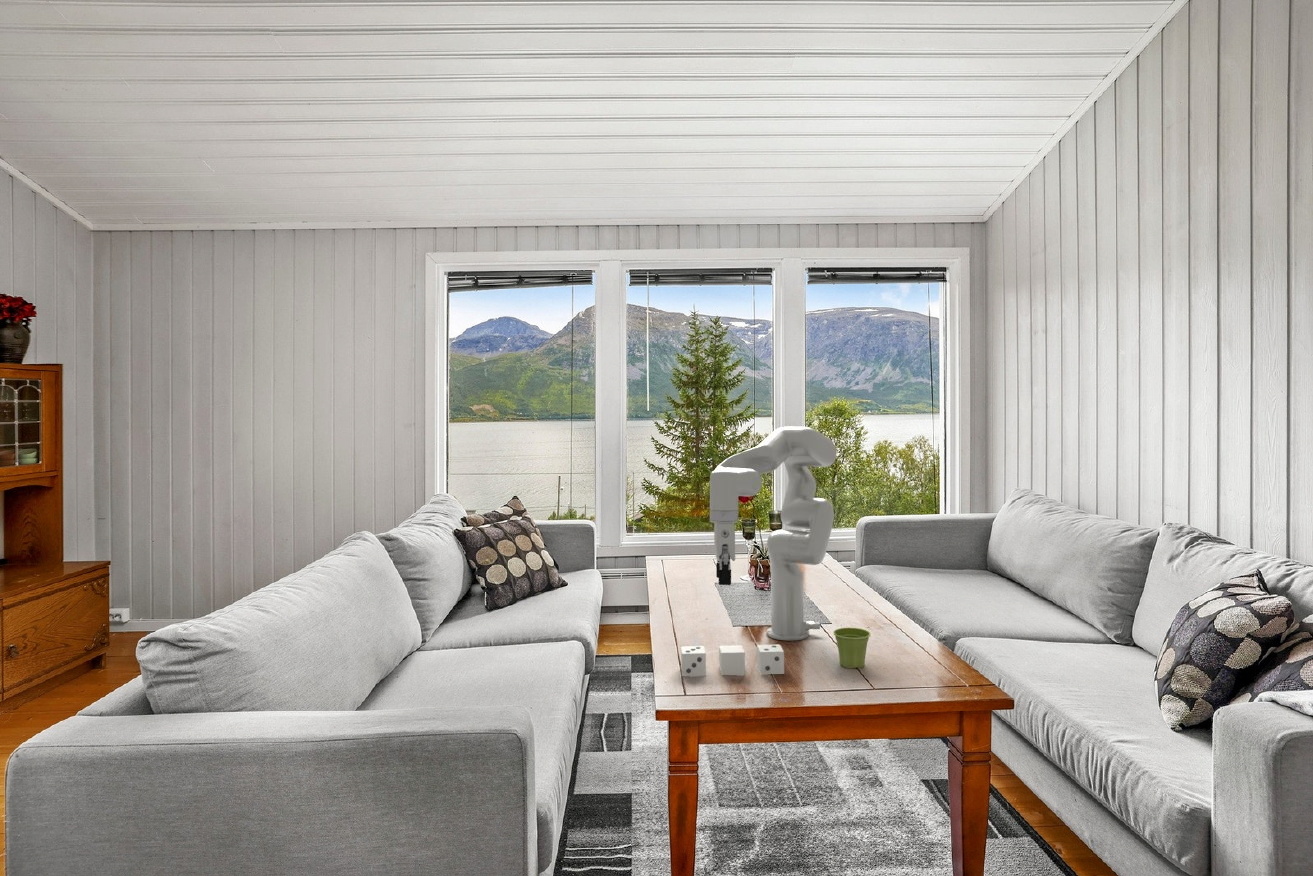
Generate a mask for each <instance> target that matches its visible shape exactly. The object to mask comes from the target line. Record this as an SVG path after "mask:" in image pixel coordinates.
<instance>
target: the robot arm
mask: <svg viewBox="0 0 1313 876" xmlns="http://www.w3.org/2000/svg"><path fill="white" fill-rule="evenodd" d="M836 460H837V447H836V445H835V443H834V442H833V441H832V440H831V438H829V437H827V436H826V435H824V434H823V433H821V432H820V431H818V430H816V429H815V428H812V427H808V426H782V427H778V428H776V429H774V430H773V431H772V432H771V433H770V434H769V435H767V436H766V437H765V438H764V439H763V440H762V441H761V442H759V444H758V445H756V446H755V447H752V448H749V449H747V450H744V451H741V452H738V453H736V454H734V455H731V456H730V457H727V458H726V459H725V460H723V461H722V462H721V463H720V464H718V465H717V466H716V468H715V469H714V470H712V471H711V472H710V475H709V476H710V477H709V523H711V524H714V525H713V527H714V528H713V531H714V533H713V535H714V539H713V541H714V542H713V543H714V553H715V558H716V566H715V567H716V575H715V576H716V578H718V585H719V586H731V585H732V569H731V567H732V565H731V560H732V562H735V561H736V530H735V529H736V528H735V524H737V523H739V497H754V496H755V495H757V494H759V492H760V491H761V489H762V486H763V477H762V476H761V475H764V474H768V473H770V472H771V473H772V472H773V471H776V470H777V469H778V468H779V467H780V466H781V465H782V464H783V463H784V465H785V466H784V467H785V469H786V472H787V476H788V483H787V488H786V491H785V494H784V500H783V503H782V507H781V512H780V520H781V522H782V524H783V525H784V526H786V527H789V528H794V529H785V528H783V529H777V530H776V529H775V530H774V531H772V532H770V534H769V536H768V537H767V541H766V549H767V554H768V559H769V565H770V567H769V568H770V594H771V595H770V600H771V601H770V603H771V605H770V606H771V607H770V609H771V614H770V616H771V617H770V618H771V619H770V620H771V626H770V627H769V628H767V629H766V630H765V633H766V636H767V637H768V638H772V639H774V640H778V641H788V642H789V641H791V642H792V641H802V640H804V639H807V638H808V637H809V636H810V630H820V629H821V623H820V622H814V621H812V620H811V621H806V620H805V618H804V613H805V612H804V605H805V604H804V602H805V601H804V574H803V572H802V570H801V567H800V565H799V564H802V565H809V566H818V565H820V564H821V563H822V562H823V560H824V558H825V556H826V553H827V550H828V549H827V548H828V546H829V543H830V542H829V541H830V537H831V534H832V530H833V525H834V521H835V519H834V517H835V512H834V506H833V504H832V503H831V502H830V501H829V499H826V498H821V497H815V494H816V489H817V482H816V479H815V477H814V475H813V474H812V472H811V471H810V469H809V467H812V468H813V467H814V468H829V467H830V466H832V465H833V464H834V463H835V461H836ZM795 528H796V530H795ZM797 529H805V530H809V531H804V530H797Z"/></svg>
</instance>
